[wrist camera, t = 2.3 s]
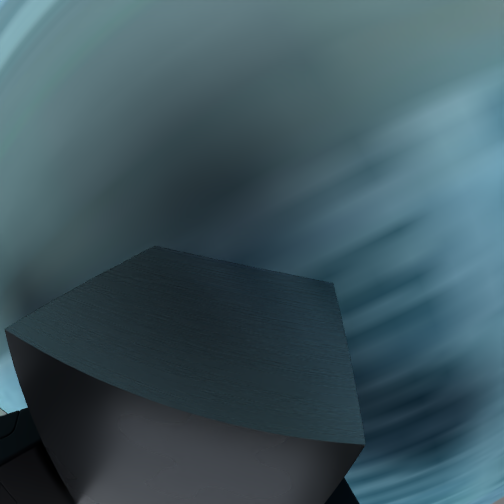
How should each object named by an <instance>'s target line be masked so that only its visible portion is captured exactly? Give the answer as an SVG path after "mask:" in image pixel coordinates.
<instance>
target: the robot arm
mask: <svg viewBox="0 0 504 504" xmlns="http://www.w3.org/2000/svg"><path fill="white" fill-rule="evenodd" d="M0 504H76V502H75V500H74V499H73V497H72V496H71V494H70V492H69V491H68V489H67V487H66V486H65V484H64V482H63V480H62V479H61V477H60V475H59V473H58V471H57V470H56V468H55V466H54V464H53V462H52V460H51V458H50V456H49V454H48V452H47V450H46V448H45V446H44V444H43V441H42V439H41V437H40V435H39V433H38V430H37V428H36V426H35V423H34V421H33V418H32V416H31V414H30V411H29V408H25V409H22V410H20V411H15V412H12V413H9V414H5V415H2V416H0ZM324 504H359V502H358V500H357V499H356V497H355V495H354V494H353V492H352V490H351V488H350V487H349V485H348V483H347V482H346V480H345V478H343V479H342V481H341V482H340V483H339V485H338V486H337V488H336V489H335V490H334V492H333V493H332V494H331V496H330V497H329V498H328V499H327V501H326V502H325V503H324Z"/></svg>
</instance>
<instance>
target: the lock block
mask: <svg viewBox="0 0 504 504" xmlns="http://www.w3.org/2000/svg"><path fill="white" fill-rule="evenodd" d="M5 333H6V337H7V342H8V346H9V349H10V353H11V357H12V360H13V364H14V367H15V371H16V374H17V377H18V380H19V383H20V386H21V389H22V392H23V395H24V398H25V400H26V403H27V406H28V408H29V411H30V414H31V416H32V418H33V421H34V423H35V426H36V428H37V430H38V433H39V435H40V437H41V439H42V441H43V444H44V446H45V448H46V450H47V452H48V454H49V456H50V458H51V460H52V462H53V464H54V466H55V468H56V470H57V471H58V473H59V475H60V477H61V479H62V480H63V482H64V484H65V486H66V487H67V489H68V491H69V492H70V494H71V496H72V497H73V499H74V500H75V502H76V504H324V503H325V502H326V501H327V499H328V498H329V497H330V496H331V494H332V493H333V492H334V490H335V489H336V488H337V486H338V485H339V483H340V482H341V481H342V479H343V478H344V476H345V475H346V474H347V472H348V471H349V469H350V468H351V466H352V465H353V463H354V462H355V460H356V459H357V457H358V456H359V454H360V453H361V451H362V449H363V448H364V446H365V445H366V444H365V438H364V431H363V425H362V419H361V413H360V407H359V401H358V396H357V390H356V385H355V379H354V374H353V369H352V364H351V359H350V354H349V350H348V345H347V340H346V336H345V331H344V327H343V322H342V318H341V313H340V309H339V305H338V301H337V297H336V292H335V288H334V284H333V283H329V282H324V281H319V280H314V279H309V278H304V277H299V276H294V275H289V274H284V273H279V272H275V271H270V270H265V269H260V268H255V267H250V266H245V265H241V264H236V263H231V262H226V261H222V260H217V259H212V258H207V257H203V256H198V255H193V254H189V253H184V252H179V251H175V250H170V249H165V248H161V247H156V246H154V247H152V248H150V249H148V250H146V251H144V252H142V253H140V254H138V255H136V256H134V257H132V258H130V259H128V260H126V261H124V262H123V263H121V264H119V265H117V266H115V267H113V268H111V269H109V270H107V271H106V272H104V273H102V274H100V275H98V276H96V277H94V278H93V279H91V280H89V281H87V282H85V283H84V284H82V285H80V286H78V287H76V288H74V289H73V290H71V291H69V292H67V293H66V294H64V295H62V296H60V297H58V298H57V299H55V300H53V301H51V302H50V303H48V304H46V305H44V306H43V307H41V308H39V309H38V310H36V311H34V312H32V313H31V314H29V315H27V316H26V317H24V318H22V319H21V320H19V321H17V322H16V323H14V324H12V325H11V326H9V327H7V328H6V329H5Z"/></svg>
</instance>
